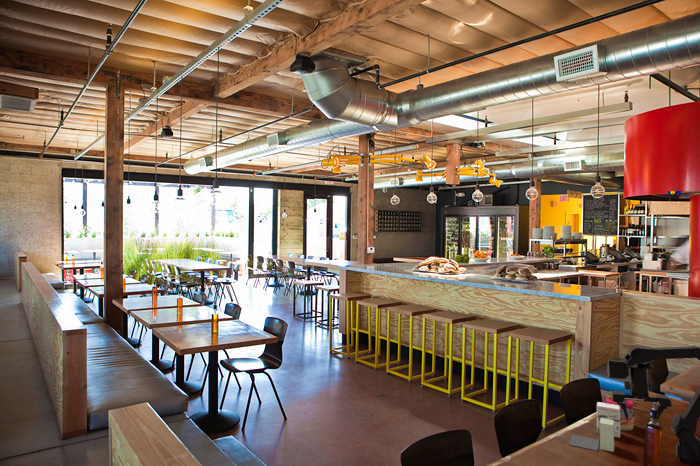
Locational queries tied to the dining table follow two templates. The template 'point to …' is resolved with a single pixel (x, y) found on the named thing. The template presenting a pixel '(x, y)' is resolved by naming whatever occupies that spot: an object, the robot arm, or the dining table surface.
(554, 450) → the dining table surface
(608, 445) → the block
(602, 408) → the ink box
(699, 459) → the robot arm
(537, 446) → the dining table surface
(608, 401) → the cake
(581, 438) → the bar mat
